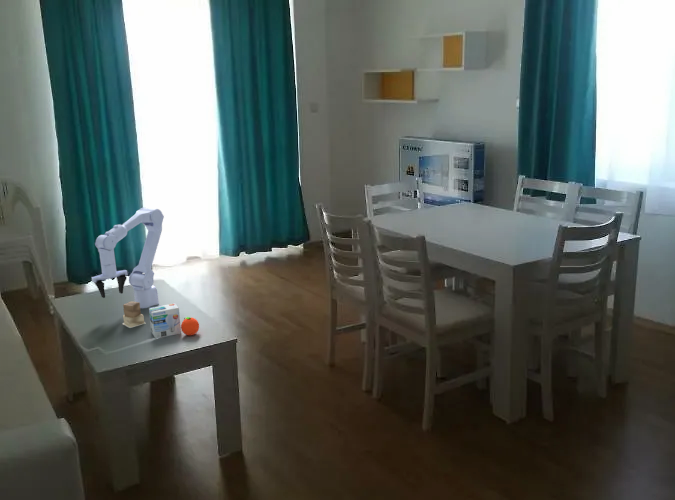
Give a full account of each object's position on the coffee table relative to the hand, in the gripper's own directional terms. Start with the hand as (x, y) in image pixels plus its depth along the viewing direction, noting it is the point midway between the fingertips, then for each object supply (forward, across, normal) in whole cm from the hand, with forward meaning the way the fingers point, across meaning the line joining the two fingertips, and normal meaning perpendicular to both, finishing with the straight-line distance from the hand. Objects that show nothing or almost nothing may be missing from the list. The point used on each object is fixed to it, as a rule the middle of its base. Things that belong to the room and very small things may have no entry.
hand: (112, 295), depth 276 cm
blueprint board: (+10, 0, +11) cm, 15 cm away
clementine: (+11, -13, +40) cm, 43 cm away
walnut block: (+6, -2, +14) cm, 15 cm away
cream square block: (+10, -2, +14) cm, 17 cm away
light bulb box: (+11, -7, +32) cm, 34 cm away
